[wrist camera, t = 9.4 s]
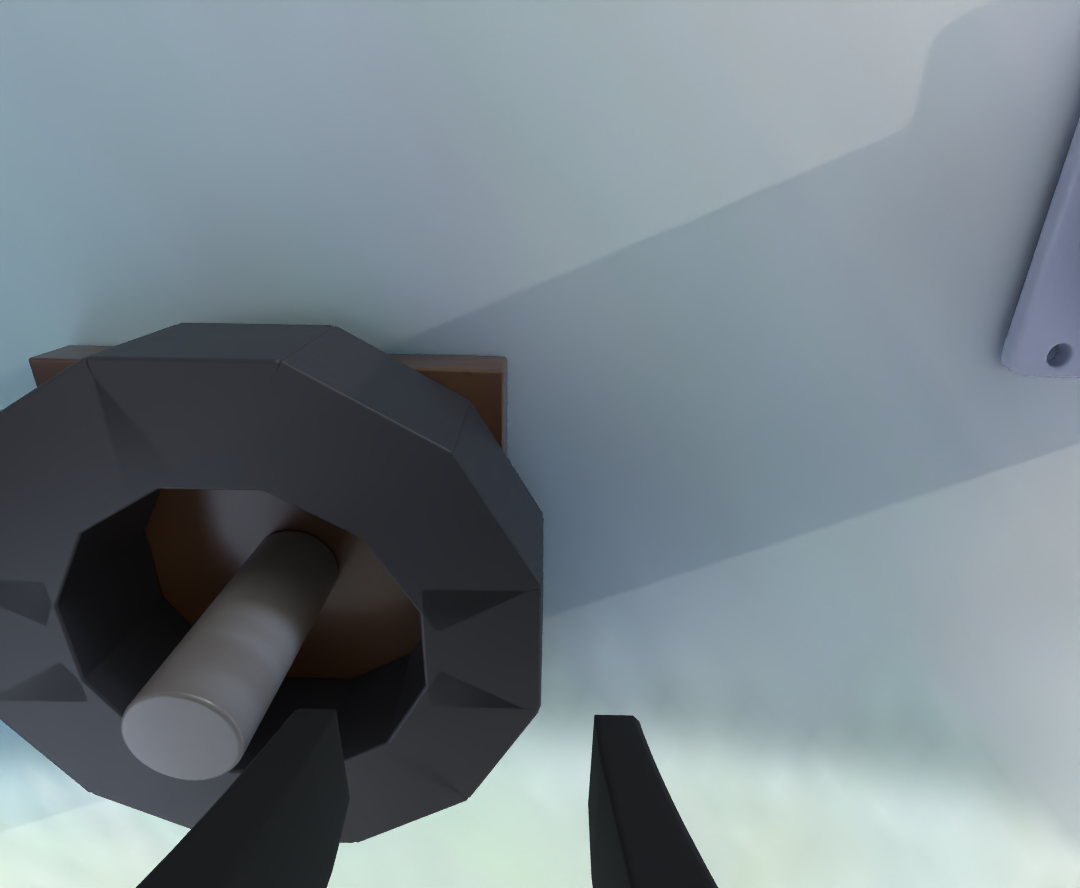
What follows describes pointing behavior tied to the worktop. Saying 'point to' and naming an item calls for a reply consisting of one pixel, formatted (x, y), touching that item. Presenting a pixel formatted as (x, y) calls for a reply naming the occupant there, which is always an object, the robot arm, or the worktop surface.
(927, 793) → the worktop surface
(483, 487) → the ring
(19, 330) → the worktop surface
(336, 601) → the stand
